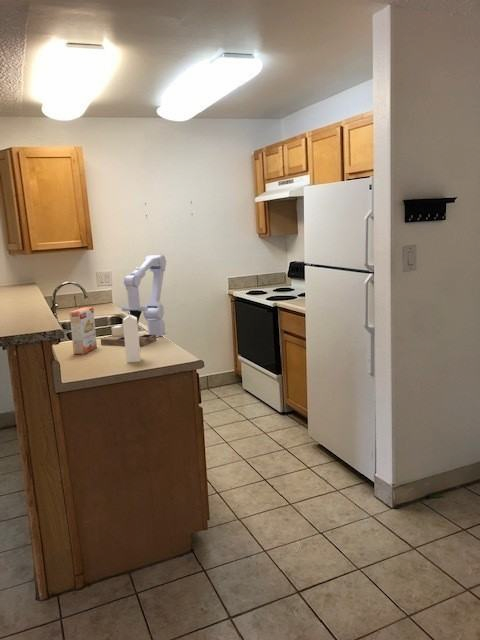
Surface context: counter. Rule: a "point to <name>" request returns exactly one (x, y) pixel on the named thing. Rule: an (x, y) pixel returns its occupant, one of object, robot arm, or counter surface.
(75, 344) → the cracker box
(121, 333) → the block
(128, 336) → the milk
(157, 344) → the counter surface
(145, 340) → the trap board
